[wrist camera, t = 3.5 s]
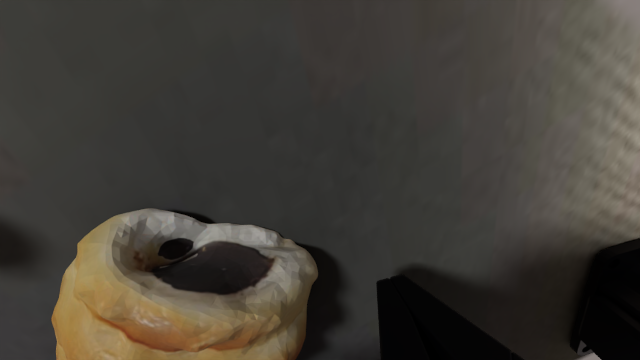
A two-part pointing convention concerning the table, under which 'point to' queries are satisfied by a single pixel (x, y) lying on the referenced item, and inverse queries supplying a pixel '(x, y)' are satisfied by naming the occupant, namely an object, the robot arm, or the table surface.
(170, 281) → the pastry
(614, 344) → the robot arm
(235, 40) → the table surface
